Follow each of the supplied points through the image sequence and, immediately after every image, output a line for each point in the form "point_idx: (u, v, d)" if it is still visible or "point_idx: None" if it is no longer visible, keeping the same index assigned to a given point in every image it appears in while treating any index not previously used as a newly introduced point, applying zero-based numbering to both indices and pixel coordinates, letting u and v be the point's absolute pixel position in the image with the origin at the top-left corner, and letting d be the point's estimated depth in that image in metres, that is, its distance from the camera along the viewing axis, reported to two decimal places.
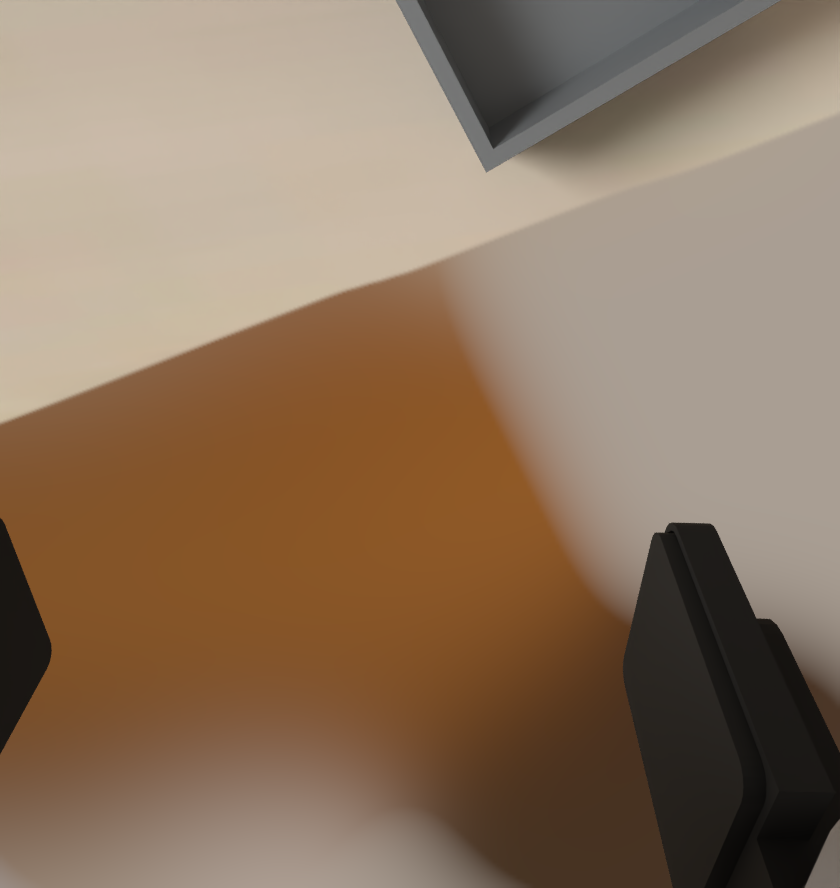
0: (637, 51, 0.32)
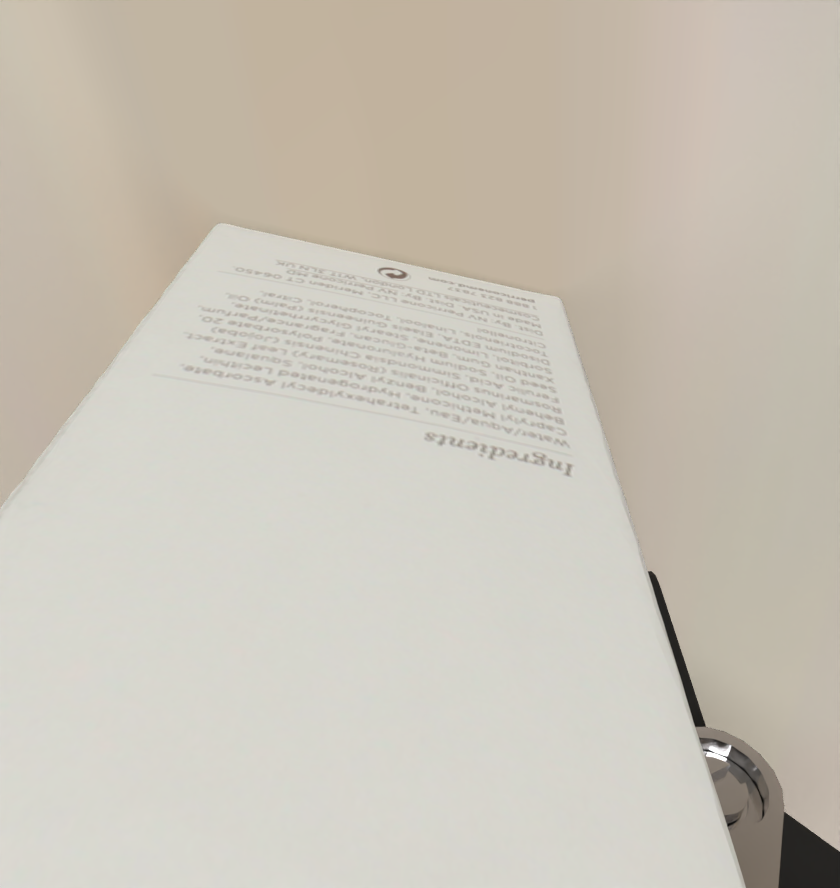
0: None
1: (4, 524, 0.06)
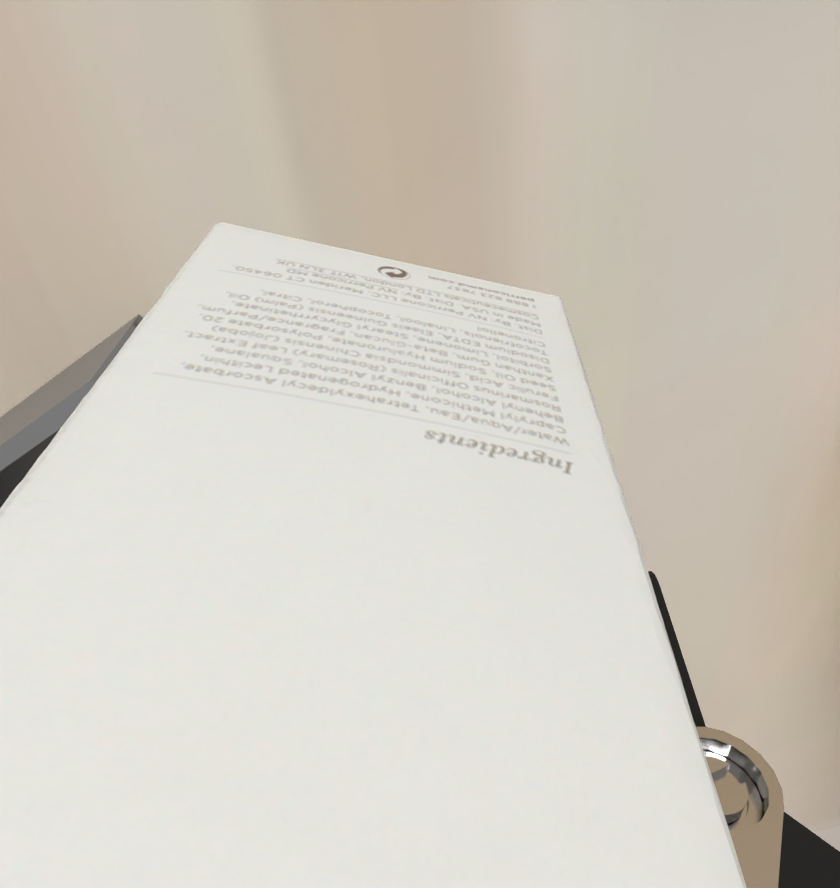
0: None
1: (6, 521, 0.06)
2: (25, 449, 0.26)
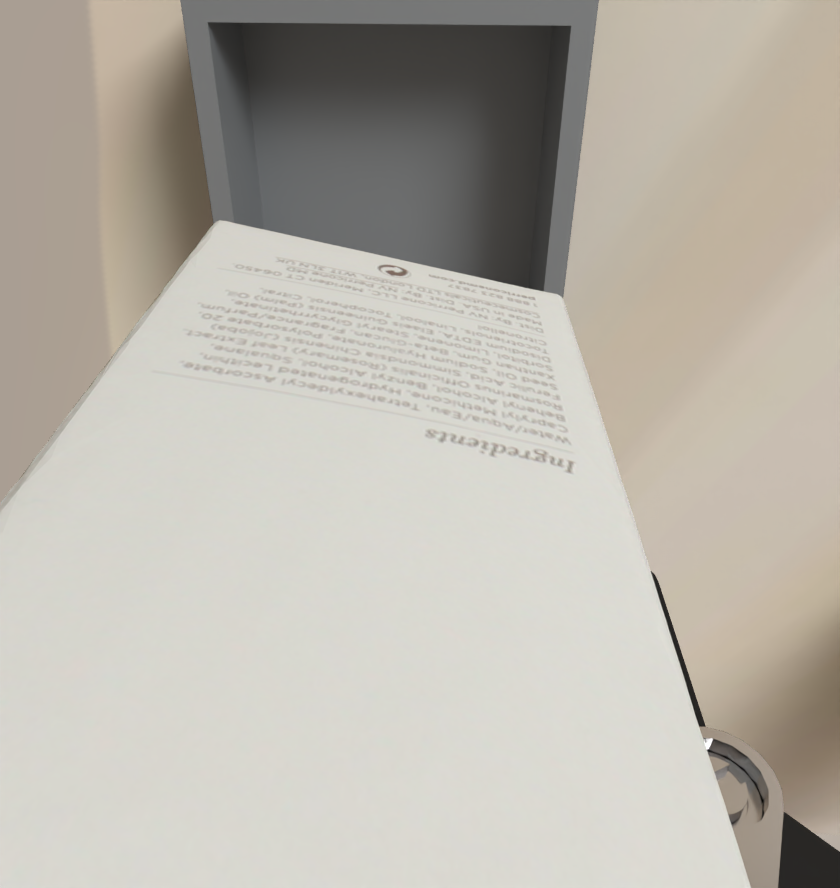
0: None
1: (2, 521, 0.06)
2: (459, 20, 0.22)
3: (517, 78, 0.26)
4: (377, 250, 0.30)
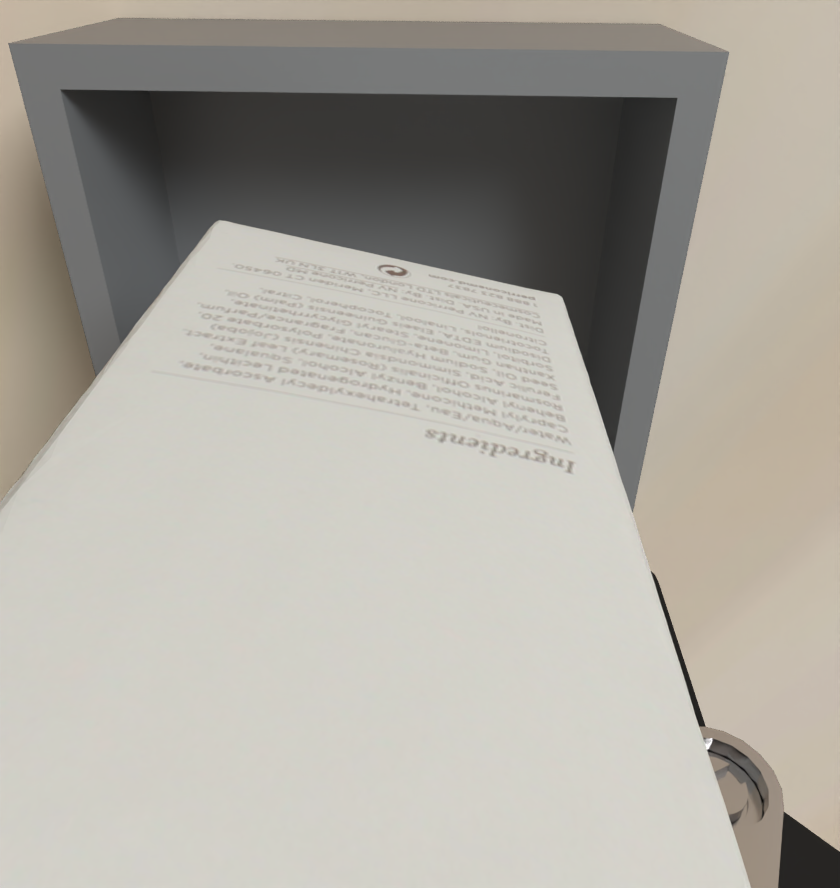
0: None
1: (2, 521, 0.06)
2: (485, 88, 0.13)
3: (568, 160, 0.17)
4: None
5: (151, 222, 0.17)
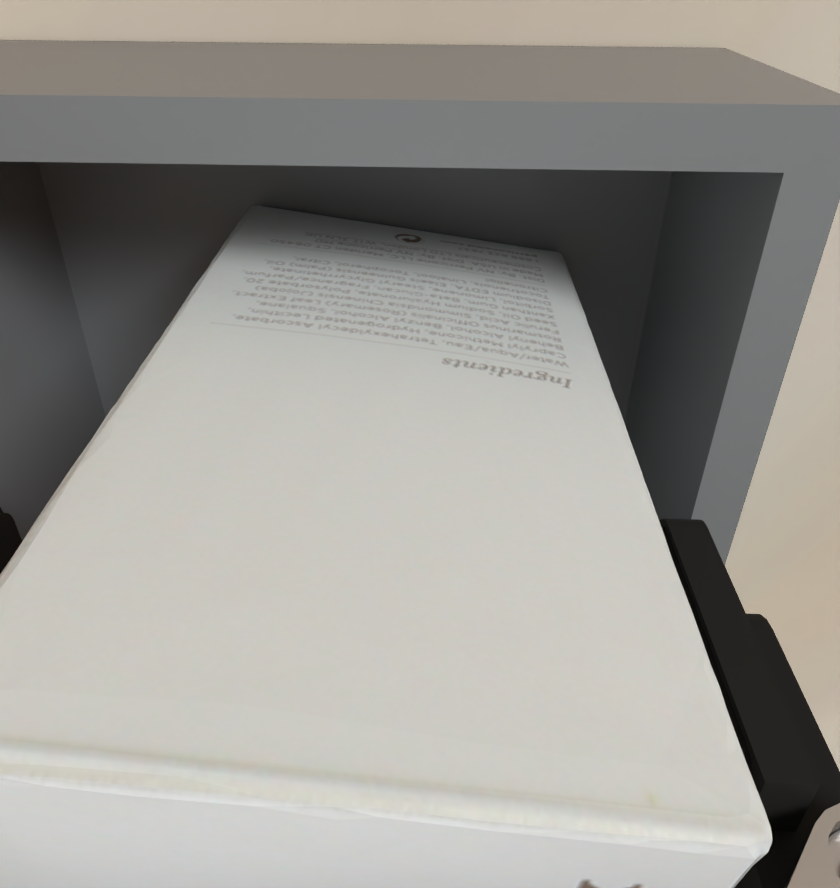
0: None
1: (109, 429, 0.07)
2: (492, 158, 0.08)
3: (598, 228, 0.13)
4: None
5: (38, 314, 0.13)
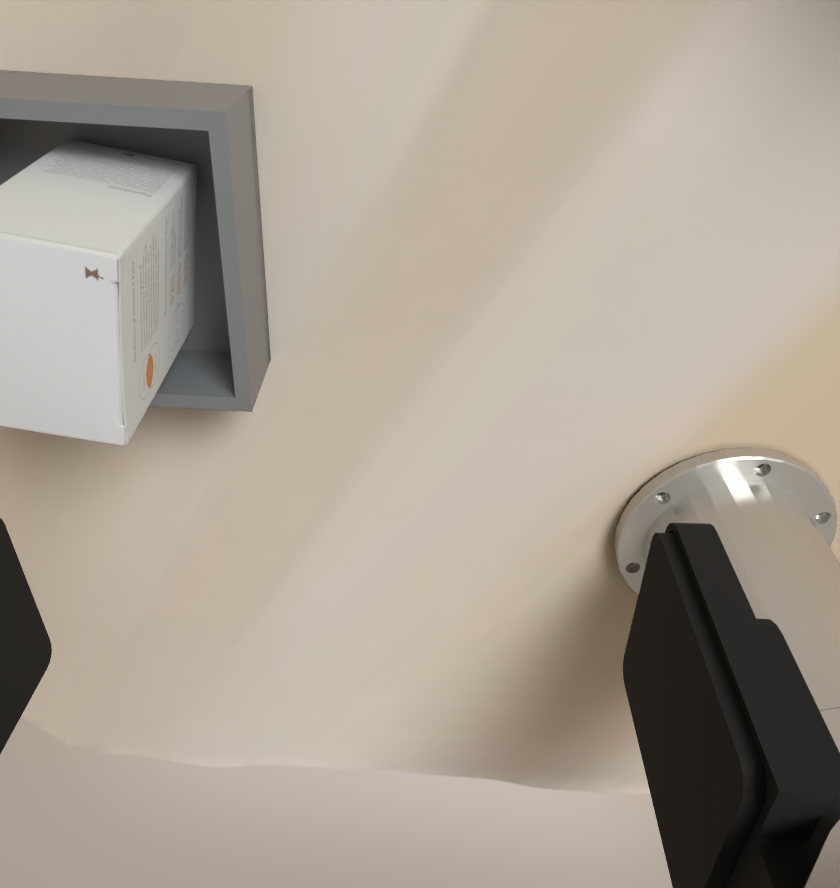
0: None
1: None
2: (119, 122, 0.28)
3: None
4: None
5: None
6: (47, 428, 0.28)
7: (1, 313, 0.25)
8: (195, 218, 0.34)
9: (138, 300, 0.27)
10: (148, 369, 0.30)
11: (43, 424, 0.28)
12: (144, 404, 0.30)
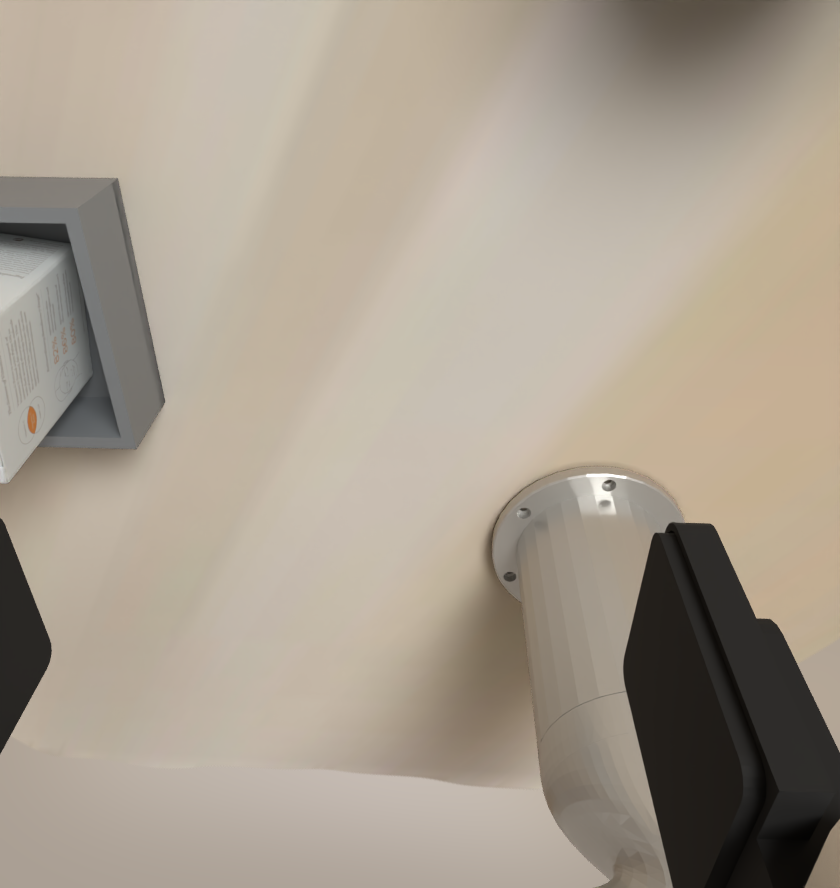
0: None
1: None
2: None
3: None
4: None
5: None
6: None
7: None
8: (81, 288, 0.40)
9: (7, 365, 0.33)
10: (30, 419, 0.36)
11: None
12: (28, 448, 0.36)
